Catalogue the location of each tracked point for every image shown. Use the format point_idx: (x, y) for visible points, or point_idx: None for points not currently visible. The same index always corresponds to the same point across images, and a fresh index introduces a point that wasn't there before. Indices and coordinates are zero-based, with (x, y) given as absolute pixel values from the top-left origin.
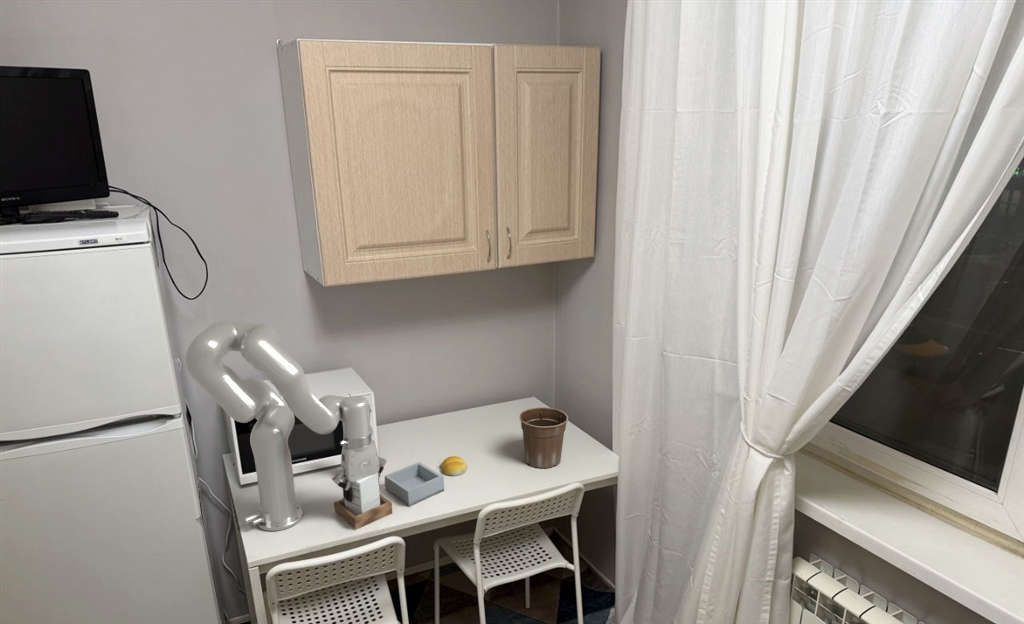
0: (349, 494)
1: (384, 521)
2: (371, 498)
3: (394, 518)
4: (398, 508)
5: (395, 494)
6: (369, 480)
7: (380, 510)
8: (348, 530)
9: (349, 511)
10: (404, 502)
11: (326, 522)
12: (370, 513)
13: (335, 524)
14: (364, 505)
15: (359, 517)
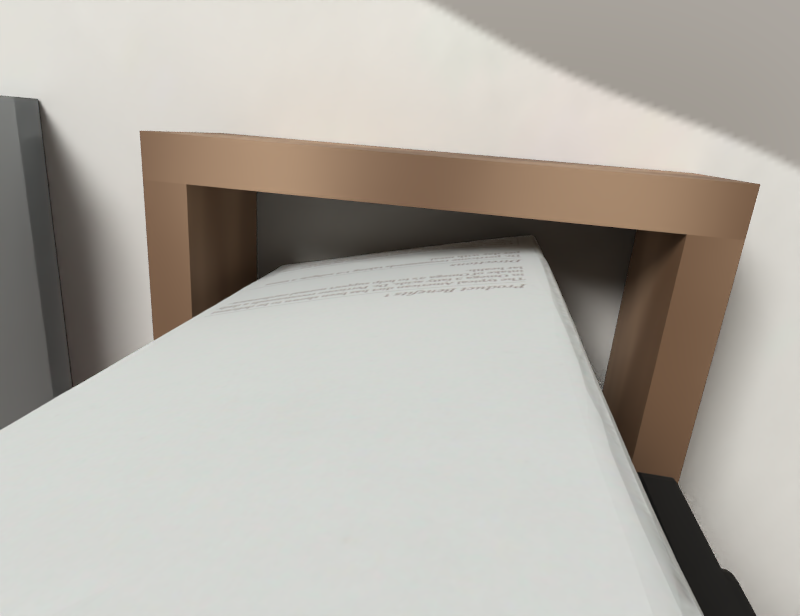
0: (733, 598)
1: (365, 62)
2: (331, 311)
3: (255, 25)
4: (130, 162)
5: (40, 349)
6: (110, 566)
7: (328, 145)
8: (748, 229)
9: (657, 398)
10: (36, 186)
11: (770, 522)
12: (478, 160)
13: (744, 428)
14: (496, 283)
15: (668, 175)
